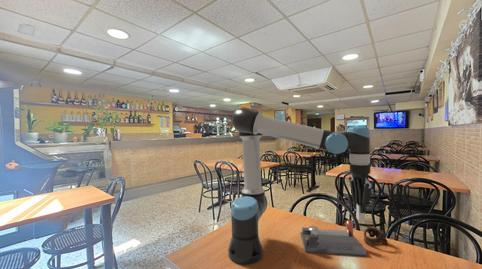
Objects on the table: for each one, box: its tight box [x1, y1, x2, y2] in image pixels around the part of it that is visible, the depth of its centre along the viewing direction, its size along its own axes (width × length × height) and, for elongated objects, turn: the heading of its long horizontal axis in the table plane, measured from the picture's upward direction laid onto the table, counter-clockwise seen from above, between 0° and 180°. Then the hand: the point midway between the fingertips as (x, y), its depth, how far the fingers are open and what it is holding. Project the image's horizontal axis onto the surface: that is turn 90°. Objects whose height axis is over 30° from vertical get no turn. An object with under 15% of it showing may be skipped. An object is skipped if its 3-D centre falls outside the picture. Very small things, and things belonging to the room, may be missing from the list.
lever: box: [301, 219, 354, 241], centre depth 96 cm, size 22×4×9 cm, turn 82°
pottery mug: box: [363, 225, 389, 246], centre depth 98 cm, size 12×10×8 cm
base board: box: [300, 231, 367, 257], centre depth 96 cm, size 25×14×7 cm, turn 82°
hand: (360, 219), depth 87 cm, fingers closed
